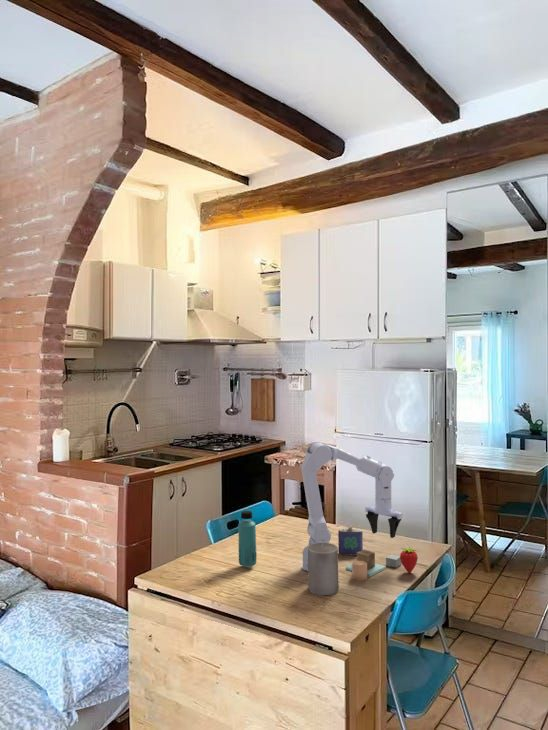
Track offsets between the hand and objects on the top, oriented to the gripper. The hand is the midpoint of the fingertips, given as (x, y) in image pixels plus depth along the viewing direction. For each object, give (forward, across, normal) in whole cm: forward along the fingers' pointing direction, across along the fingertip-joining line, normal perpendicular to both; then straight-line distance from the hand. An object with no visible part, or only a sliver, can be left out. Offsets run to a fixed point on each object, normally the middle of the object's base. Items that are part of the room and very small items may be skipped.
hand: (383, 535), depth 204 cm
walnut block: (+9, +1, +10) cm, 13 cm away
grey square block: (+10, -4, 0) cm, 11 cm away
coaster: (+10, +1, +10) cm, 14 cm away
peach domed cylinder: (+10, -2, +18) cm, 21 cm away
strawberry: (+10, -12, +3) cm, 16 cm away
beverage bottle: (+10, +33, +37) cm, 51 cm away
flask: (+10, +14, +1) cm, 17 cm away
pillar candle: (+10, +1, +34) cm, 35 cm away
